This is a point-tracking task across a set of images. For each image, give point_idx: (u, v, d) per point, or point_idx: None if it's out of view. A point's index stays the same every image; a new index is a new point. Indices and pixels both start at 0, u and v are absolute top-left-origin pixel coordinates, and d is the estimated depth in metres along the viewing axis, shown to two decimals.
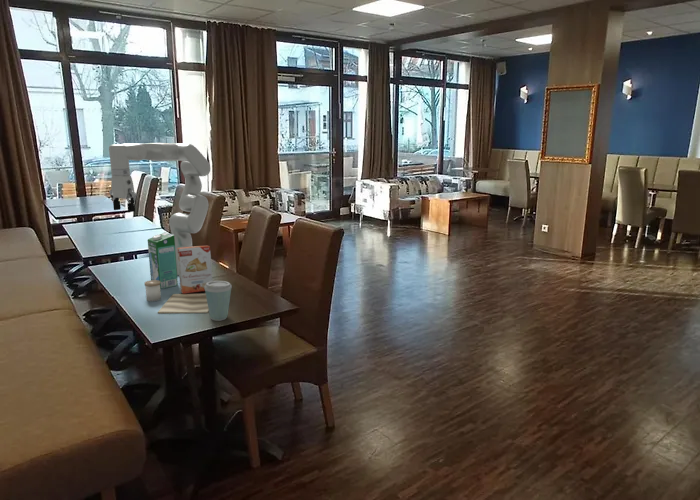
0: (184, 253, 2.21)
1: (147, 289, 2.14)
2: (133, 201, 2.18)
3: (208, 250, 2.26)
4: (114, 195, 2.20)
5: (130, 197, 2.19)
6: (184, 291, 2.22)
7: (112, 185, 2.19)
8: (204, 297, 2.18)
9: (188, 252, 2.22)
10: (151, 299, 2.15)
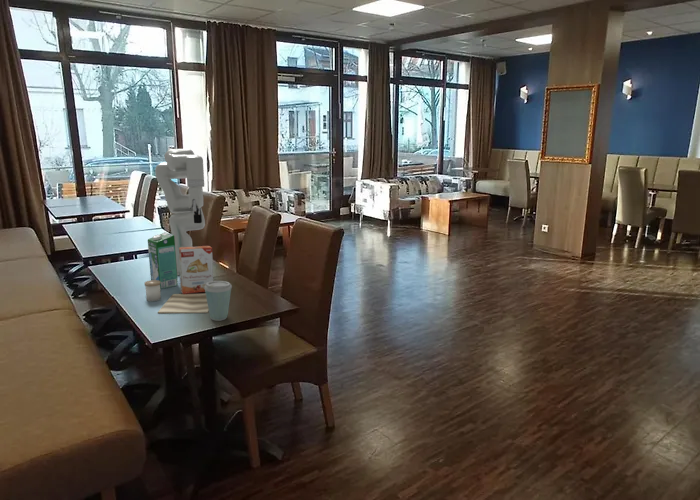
0: (186, 254, 2.20)
1: (147, 289, 2.14)
2: None
3: (210, 251, 2.25)
4: (200, 206, 2.24)
5: None
6: (184, 291, 2.22)
7: (199, 196, 2.23)
8: (204, 297, 2.18)
9: (190, 253, 2.21)
10: (151, 299, 2.15)
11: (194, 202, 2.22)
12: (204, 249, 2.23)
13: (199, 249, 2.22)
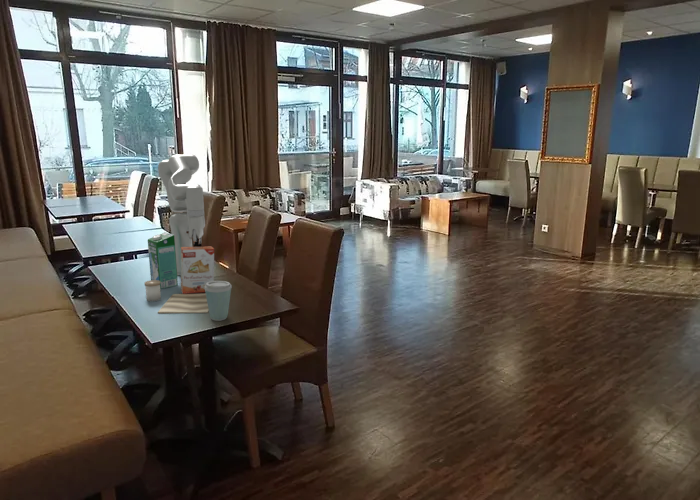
0: (188, 254, 2.19)
1: (147, 289, 2.14)
2: None
3: (212, 253, 2.24)
4: (200, 236, 2.24)
5: None
6: (184, 291, 2.22)
7: (199, 226, 2.23)
8: (204, 297, 2.18)
9: (192, 254, 2.20)
10: (151, 299, 2.15)
11: (194, 232, 2.22)
12: (206, 250, 2.22)
13: (201, 250, 2.21)
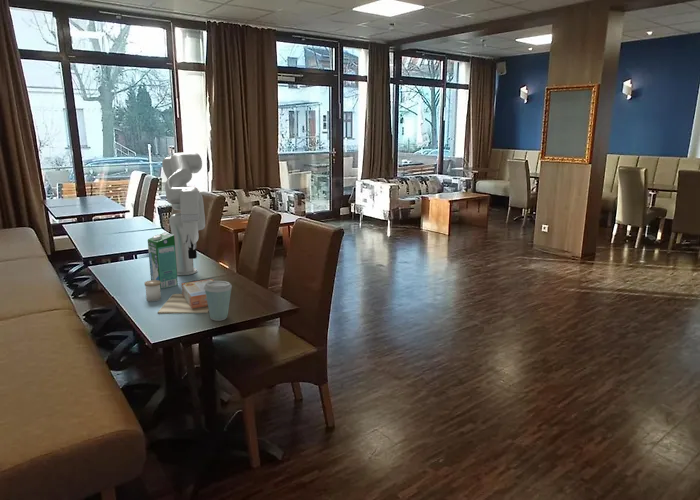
0: None
1: (147, 289, 2.14)
2: None
3: None
4: (194, 241, 2.14)
5: (191, 243, 2.19)
6: None
7: (194, 232, 2.13)
8: None
9: None
10: (151, 299, 2.15)
11: (188, 238, 2.12)
12: None
13: None
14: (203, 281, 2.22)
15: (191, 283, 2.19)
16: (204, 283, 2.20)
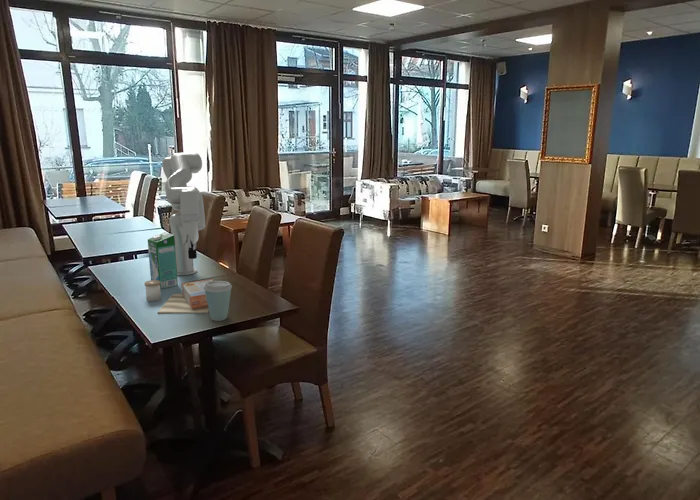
0: None
1: (147, 289, 2.14)
2: None
3: None
4: (194, 241, 2.14)
5: None
6: None
7: (194, 232, 2.13)
8: None
9: None
10: (151, 299, 2.15)
11: (188, 238, 2.12)
12: None
13: None
14: (203, 281, 2.22)
15: (191, 283, 2.19)
16: (204, 283, 2.20)
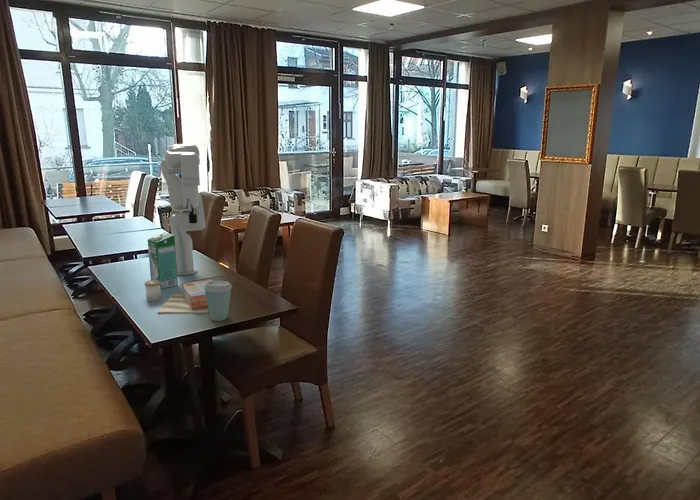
0: None
1: (147, 289, 2.14)
2: None
3: None
4: (195, 206, 2.16)
5: None
6: None
7: (194, 196, 2.14)
8: None
9: None
10: (151, 299, 2.15)
11: (189, 201, 2.13)
12: None
13: None
14: (203, 281, 2.22)
15: (191, 283, 2.19)
16: (204, 283, 2.20)
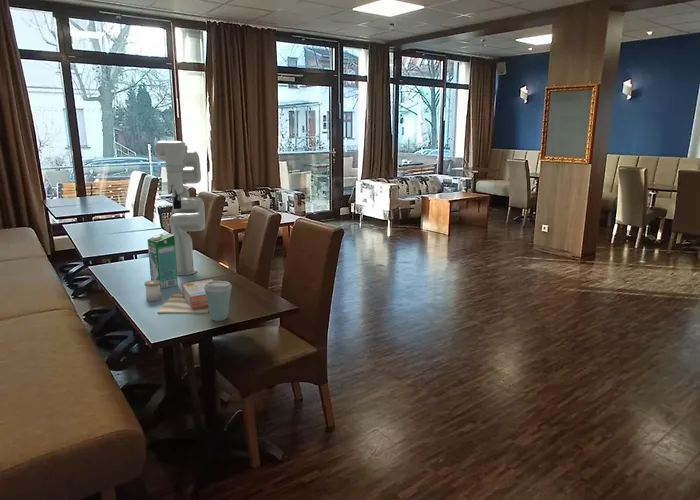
0: None
1: (147, 289, 2.14)
2: None
3: None
4: (179, 192, 2.26)
5: (176, 194, 2.31)
6: None
7: (178, 182, 2.25)
8: None
9: None
10: (151, 299, 2.15)
11: (173, 188, 2.24)
12: None
13: None
14: (203, 281, 2.22)
15: (191, 283, 2.19)
16: (204, 283, 2.20)
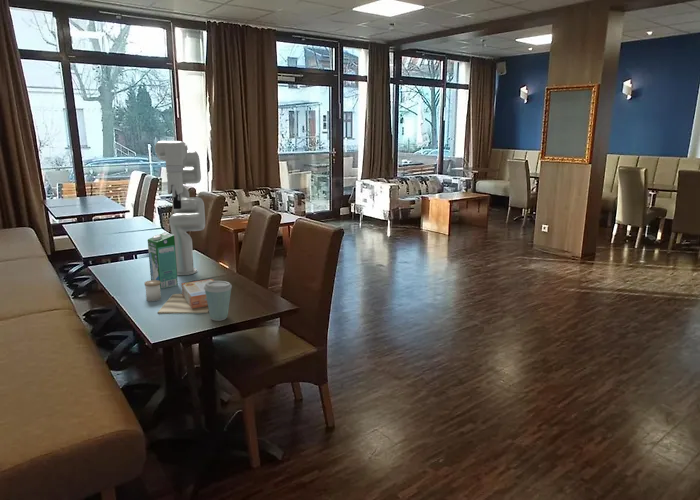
0: None
1: (147, 289, 2.14)
2: None
3: None
4: (179, 192, 2.26)
5: (176, 194, 2.31)
6: None
7: (178, 182, 2.25)
8: None
9: None
10: (151, 299, 2.15)
11: (173, 188, 2.24)
12: None
13: None
14: (203, 281, 2.22)
15: (191, 283, 2.19)
16: (204, 283, 2.20)
